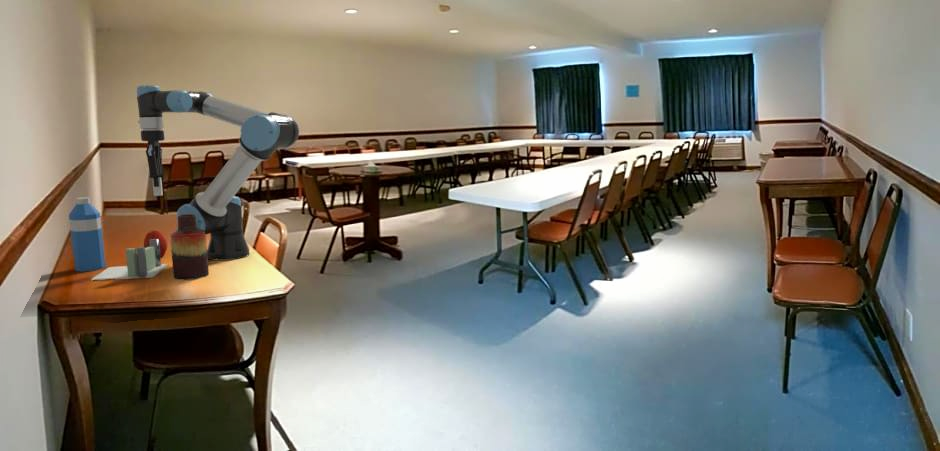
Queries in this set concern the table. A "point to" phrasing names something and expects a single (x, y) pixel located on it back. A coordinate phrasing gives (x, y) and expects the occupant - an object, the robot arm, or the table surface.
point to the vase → (189, 249)
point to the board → (125, 273)
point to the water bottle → (86, 236)
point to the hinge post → (156, 250)
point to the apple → (161, 241)
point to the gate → (133, 261)
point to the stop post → (141, 262)
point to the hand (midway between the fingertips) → (158, 195)
